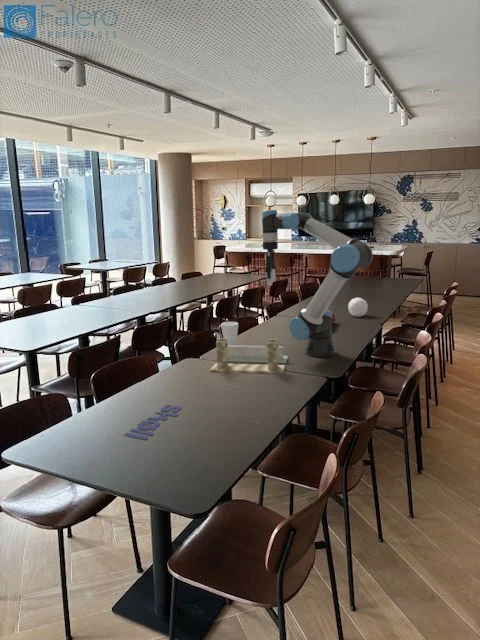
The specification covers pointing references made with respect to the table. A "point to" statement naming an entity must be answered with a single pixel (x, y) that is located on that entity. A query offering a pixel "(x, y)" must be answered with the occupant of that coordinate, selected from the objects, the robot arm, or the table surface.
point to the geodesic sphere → (357, 307)
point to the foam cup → (230, 332)
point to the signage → (156, 423)
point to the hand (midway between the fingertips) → (271, 283)
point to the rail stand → (247, 368)
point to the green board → (257, 360)
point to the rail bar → (251, 352)
